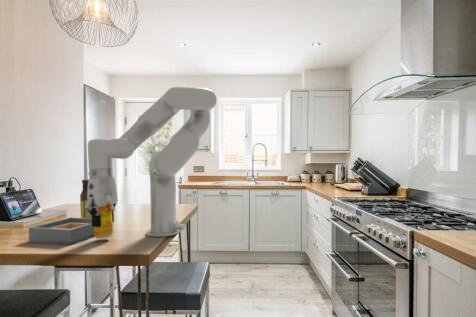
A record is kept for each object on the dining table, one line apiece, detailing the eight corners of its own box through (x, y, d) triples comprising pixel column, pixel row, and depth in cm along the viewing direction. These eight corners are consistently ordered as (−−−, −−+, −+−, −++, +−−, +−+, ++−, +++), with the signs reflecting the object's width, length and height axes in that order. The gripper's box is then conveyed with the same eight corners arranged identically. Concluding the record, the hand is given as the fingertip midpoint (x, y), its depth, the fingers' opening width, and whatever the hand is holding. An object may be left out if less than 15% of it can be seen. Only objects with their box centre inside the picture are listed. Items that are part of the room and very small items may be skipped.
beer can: (106, 238, 99) (104, 195, 98) (90, 238, 100) (88, 195, 99) (116, 233, 105) (114, 193, 104) (101, 233, 106) (99, 193, 105)
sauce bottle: (99, 221, 135) (98, 178, 135) (91, 224, 128) (90, 179, 128) (86, 221, 135) (85, 179, 135) (77, 224, 129) (76, 179, 129)
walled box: (107, 231, 114) (107, 219, 114) (70, 245, 96) (70, 230, 96) (70, 229, 118) (70, 217, 118) (28, 241, 101) (28, 227, 101)
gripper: (91, 175, 93) (94, 231, 93) (125, 172, 109) (127, 219, 110) (72, 176, 95) (75, 230, 95) (108, 172, 111) (110, 218, 111)
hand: (103, 223), depth 102 cm, fingers closed on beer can, 5 cm apart
